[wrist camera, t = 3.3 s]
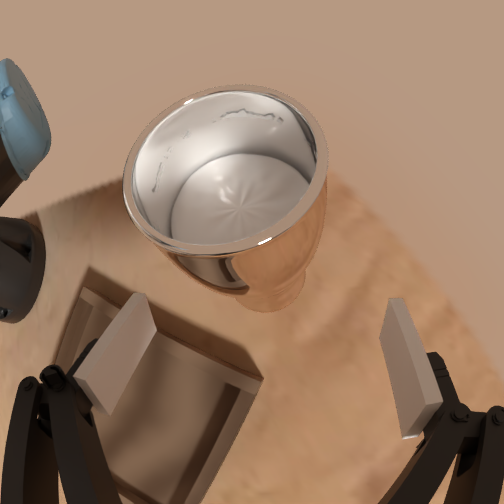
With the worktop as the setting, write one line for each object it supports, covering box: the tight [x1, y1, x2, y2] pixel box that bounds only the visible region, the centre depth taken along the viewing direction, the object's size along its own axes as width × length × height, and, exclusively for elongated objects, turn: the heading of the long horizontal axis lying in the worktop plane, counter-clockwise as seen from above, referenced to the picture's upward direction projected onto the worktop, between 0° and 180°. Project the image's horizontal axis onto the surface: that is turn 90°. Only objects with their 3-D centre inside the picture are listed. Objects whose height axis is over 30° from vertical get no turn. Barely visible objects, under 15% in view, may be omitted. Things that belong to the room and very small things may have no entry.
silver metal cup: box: [122, 85, 328, 313], centre depth 15 cm, size 7×7×15 cm
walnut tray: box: [55, 286, 264, 504], centre depth 23 cm, size 20×20×2 cm
